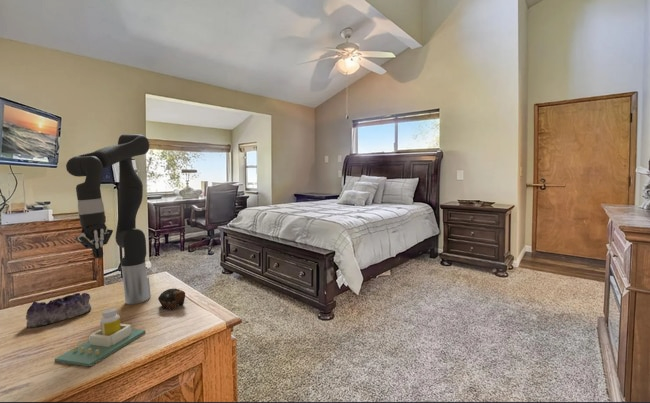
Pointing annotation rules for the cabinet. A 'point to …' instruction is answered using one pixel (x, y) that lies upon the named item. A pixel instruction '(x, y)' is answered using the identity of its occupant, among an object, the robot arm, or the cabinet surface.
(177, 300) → the decorative turtle
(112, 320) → the supplement bottle
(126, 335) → the header board
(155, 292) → the cabinet surface
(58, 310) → the geode
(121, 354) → the cabinet surface
